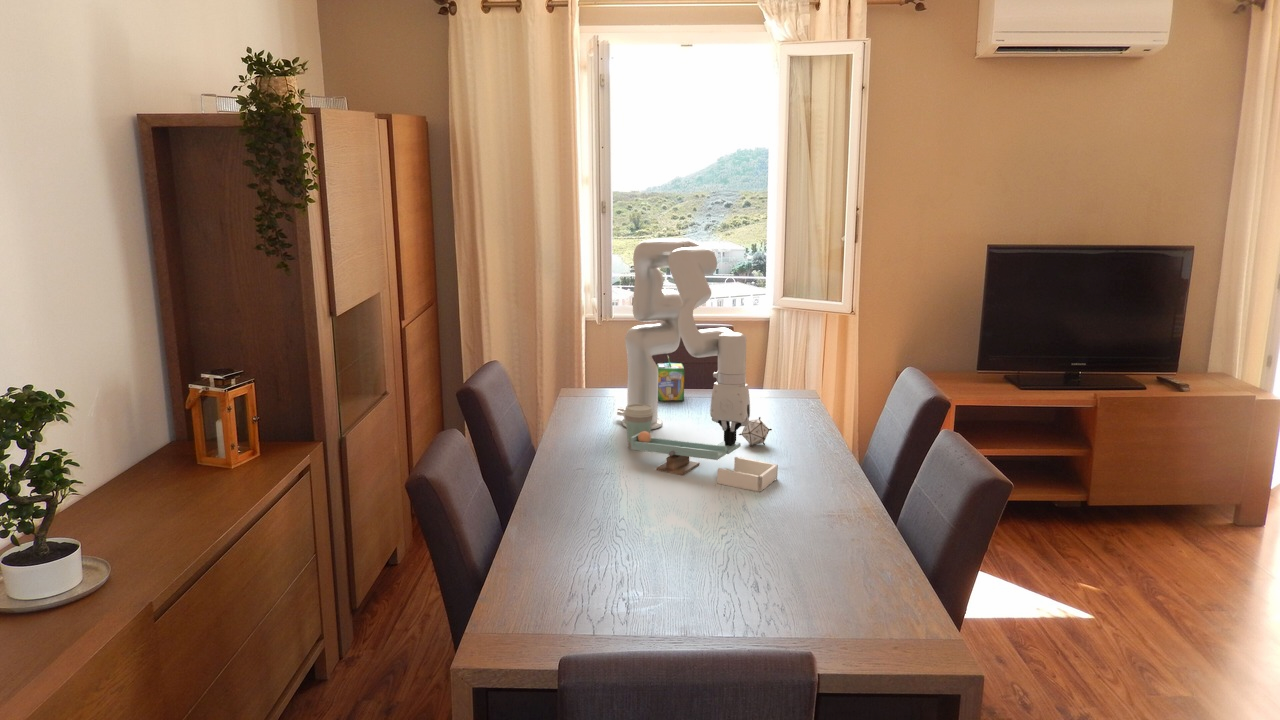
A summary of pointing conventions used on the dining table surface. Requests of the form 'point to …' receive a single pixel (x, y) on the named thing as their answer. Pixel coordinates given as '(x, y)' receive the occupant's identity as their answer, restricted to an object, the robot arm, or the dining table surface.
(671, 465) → the fulcrum
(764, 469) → the tray
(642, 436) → the ball
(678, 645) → the dining table surface
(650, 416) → the coffee cup
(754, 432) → the game die
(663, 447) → the lever
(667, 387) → the chalk box
